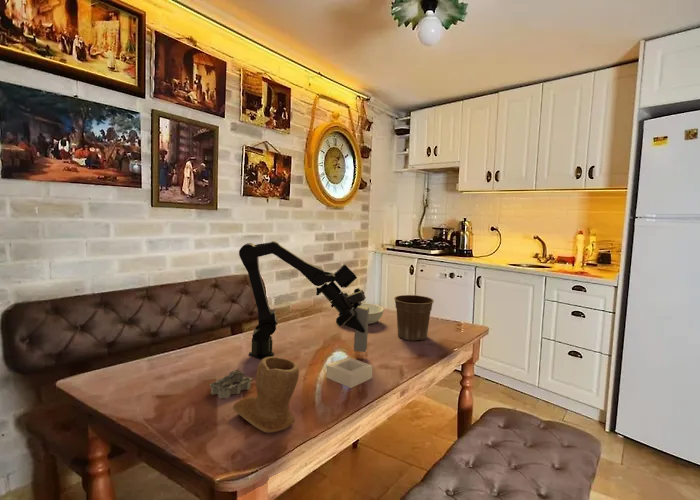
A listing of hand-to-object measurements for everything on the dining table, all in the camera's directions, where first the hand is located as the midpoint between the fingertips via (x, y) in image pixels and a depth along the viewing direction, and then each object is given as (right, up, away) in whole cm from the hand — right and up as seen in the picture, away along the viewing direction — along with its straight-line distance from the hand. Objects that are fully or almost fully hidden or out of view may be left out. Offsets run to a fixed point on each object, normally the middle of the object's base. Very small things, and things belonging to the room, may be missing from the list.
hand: (365, 330), depth 137 cm
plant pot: (+21, -8, +27) cm, 35 cm away
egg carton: (-39, -12, -28) cm, 49 cm away
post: (-2, -7, +1) cm, 7 cm away
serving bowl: (0, -6, +45) cm, 45 cm away
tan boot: (-25, -13, -42) cm, 51 cm away
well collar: (-6, -11, -17) cm, 21 cm away
